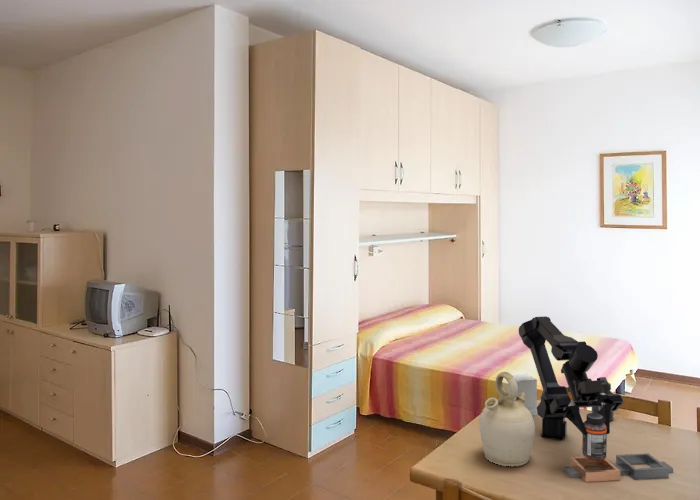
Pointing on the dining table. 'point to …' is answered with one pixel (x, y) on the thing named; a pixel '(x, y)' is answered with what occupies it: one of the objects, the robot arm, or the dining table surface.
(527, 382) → the supplement box
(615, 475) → the socket rail
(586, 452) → the supplement bottle
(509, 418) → the jug
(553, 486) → the dining table surface
